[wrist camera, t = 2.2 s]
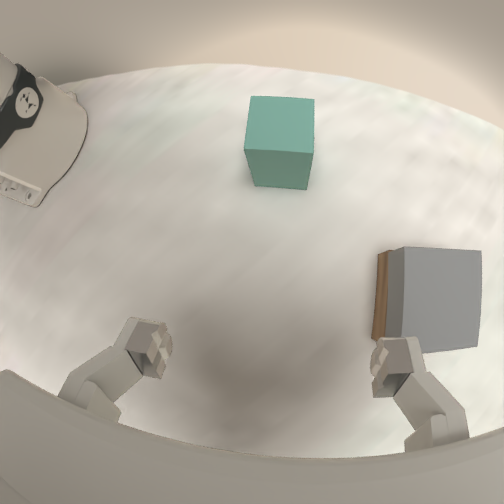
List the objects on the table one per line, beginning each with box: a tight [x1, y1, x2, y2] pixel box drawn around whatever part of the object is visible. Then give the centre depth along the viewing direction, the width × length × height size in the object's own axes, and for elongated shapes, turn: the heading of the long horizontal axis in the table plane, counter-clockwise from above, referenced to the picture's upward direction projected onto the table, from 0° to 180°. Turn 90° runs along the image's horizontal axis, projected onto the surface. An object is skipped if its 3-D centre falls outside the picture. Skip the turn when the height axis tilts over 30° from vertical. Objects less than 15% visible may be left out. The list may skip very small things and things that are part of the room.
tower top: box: [385, 247, 482, 353], centre depth 20 cm, size 8×8×4 cm
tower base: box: [371, 250, 394, 341], centre depth 23 cm, size 8×8×4 cm
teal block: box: [244, 96, 314, 190], centre depth 24 cm, size 5×5×8 cm
